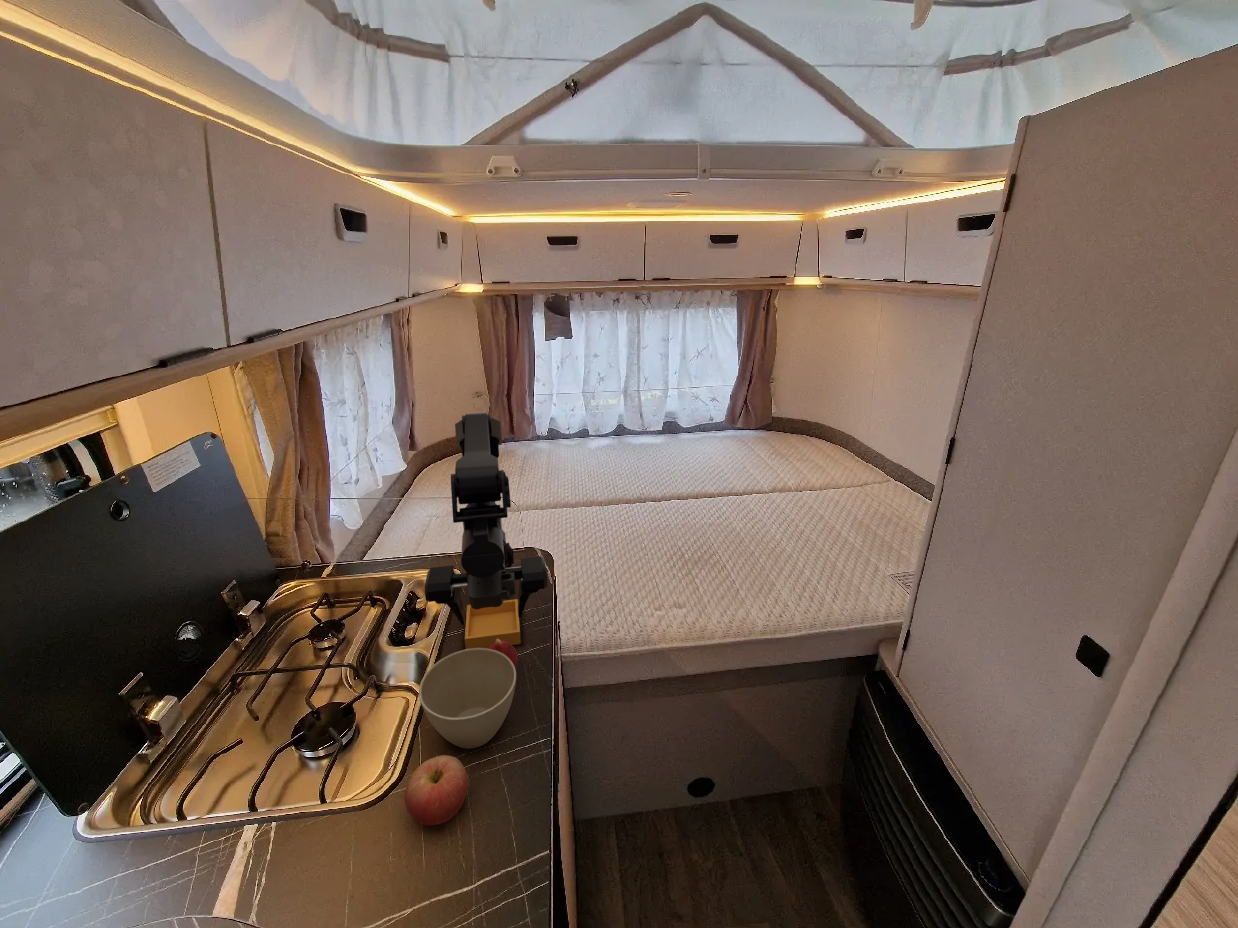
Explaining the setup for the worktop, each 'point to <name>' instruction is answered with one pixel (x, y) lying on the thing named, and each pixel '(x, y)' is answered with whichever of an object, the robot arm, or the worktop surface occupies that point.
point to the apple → (436, 790)
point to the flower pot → (468, 695)
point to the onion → (505, 650)
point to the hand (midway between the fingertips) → (491, 619)
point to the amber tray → (492, 625)
